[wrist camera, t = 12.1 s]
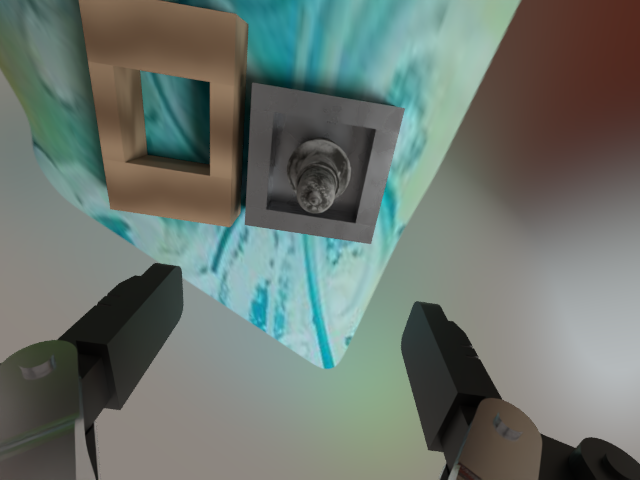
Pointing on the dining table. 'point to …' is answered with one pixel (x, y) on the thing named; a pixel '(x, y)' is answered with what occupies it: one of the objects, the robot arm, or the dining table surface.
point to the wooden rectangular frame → (127, 105)
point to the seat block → (307, 123)
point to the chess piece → (318, 173)
